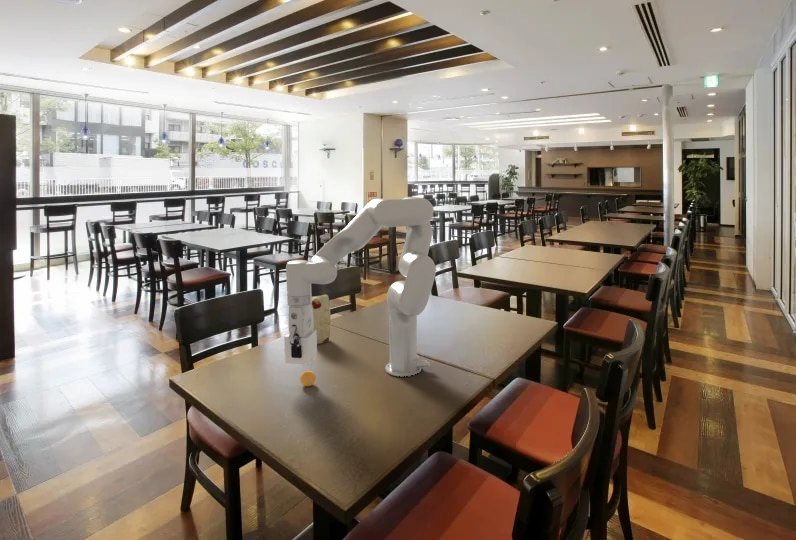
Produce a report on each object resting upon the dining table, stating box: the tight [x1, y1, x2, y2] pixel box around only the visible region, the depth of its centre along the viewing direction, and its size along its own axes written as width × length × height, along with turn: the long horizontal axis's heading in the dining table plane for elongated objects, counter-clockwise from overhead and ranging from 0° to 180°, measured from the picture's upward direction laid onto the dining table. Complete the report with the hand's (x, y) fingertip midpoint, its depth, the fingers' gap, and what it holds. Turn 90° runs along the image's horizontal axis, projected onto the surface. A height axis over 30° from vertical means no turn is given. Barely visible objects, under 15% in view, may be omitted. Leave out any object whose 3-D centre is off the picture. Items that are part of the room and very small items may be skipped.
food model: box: [312, 294, 332, 345], centre depth 186 cm, size 10×7×20 cm
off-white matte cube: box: [283, 330, 318, 366], centre depth 147 cm, size 8×8×9 cm
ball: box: [299, 370, 317, 387], centre depth 148 cm, size 5×5×5 cm
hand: (301, 352), depth 147 cm, fingers closed on off-white matte cube, 7 cm apart
